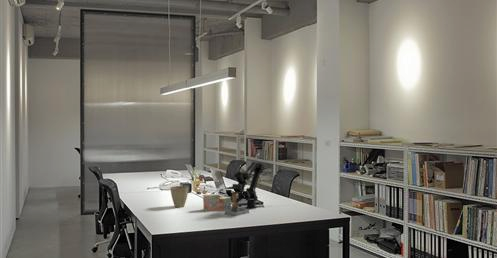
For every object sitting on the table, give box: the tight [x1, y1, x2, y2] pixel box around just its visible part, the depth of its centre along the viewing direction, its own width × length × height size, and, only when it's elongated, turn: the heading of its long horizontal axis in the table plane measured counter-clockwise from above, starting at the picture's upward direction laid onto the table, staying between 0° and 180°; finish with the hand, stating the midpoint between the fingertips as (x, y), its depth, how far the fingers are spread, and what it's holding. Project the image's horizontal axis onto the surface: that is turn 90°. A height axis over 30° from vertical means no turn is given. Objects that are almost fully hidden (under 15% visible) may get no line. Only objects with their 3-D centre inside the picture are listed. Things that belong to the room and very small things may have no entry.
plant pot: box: [170, 185, 189, 208], centre depth 395 cm, size 15×15×16 cm
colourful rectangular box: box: [202, 193, 232, 212], centre depth 382 cm, size 21×6×12 cm, turn 103°
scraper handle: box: [231, 193, 239, 212], centre depth 364 cm, size 6×6×14 cm
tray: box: [224, 207, 250, 217], centre depth 367 cm, size 14×12×2 cm
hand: (234, 202), depth 363 cm, fingers closed on scraper handle, 4 cm apart
